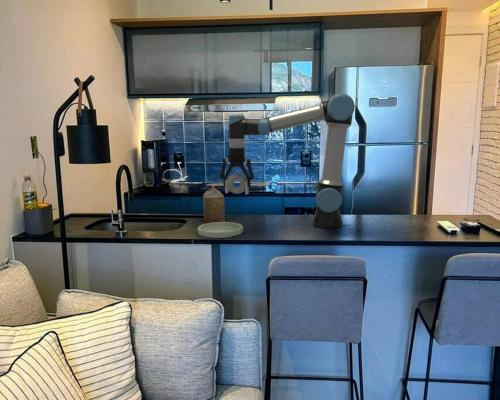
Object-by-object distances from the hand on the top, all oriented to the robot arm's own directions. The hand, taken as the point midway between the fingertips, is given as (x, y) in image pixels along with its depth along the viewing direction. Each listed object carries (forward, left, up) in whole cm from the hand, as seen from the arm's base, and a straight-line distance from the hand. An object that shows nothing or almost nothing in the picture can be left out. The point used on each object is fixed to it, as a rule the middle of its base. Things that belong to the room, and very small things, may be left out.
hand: (237, 193), depth 208 cm
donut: (0, 0, 0) cm, 0 cm away
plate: (+7, +6, -19) cm, 21 cm away
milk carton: (+19, -16, -19) cm, 31 cm away
